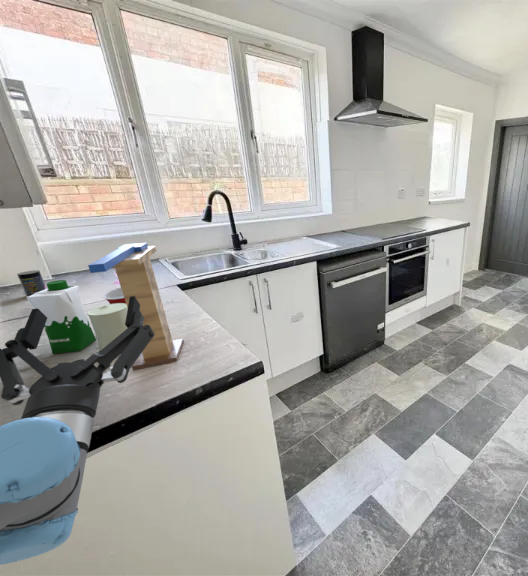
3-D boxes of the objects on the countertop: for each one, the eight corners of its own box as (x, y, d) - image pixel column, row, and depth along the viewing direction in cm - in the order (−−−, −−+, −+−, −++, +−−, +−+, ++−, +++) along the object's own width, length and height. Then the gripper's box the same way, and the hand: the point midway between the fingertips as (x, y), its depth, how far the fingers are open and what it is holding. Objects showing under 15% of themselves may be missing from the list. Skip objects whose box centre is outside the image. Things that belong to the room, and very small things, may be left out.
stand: (174, 369, 81) (142, 258, 71) (127, 378, 78) (88, 263, 68) (184, 340, 96) (159, 245, 86) (145, 347, 92) (115, 248, 82)
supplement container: (49, 294, 139) (40, 271, 135) (27, 298, 134) (17, 275, 130) (47, 291, 143) (38, 269, 139) (25, 295, 138) (16, 273, 134)
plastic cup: (105, 330, 103) (93, 297, 99) (125, 317, 113) (115, 286, 109) (141, 327, 105) (130, 294, 101) (157, 314, 115) (149, 284, 111)
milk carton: (101, 338, 98) (79, 278, 92) (81, 352, 90) (56, 288, 83) (69, 341, 97) (45, 280, 90) (45, 356, 88) (17, 291, 82)
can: (128, 333, 101) (117, 299, 97) (144, 339, 97) (133, 304, 93) (93, 346, 93) (80, 310, 89) (109, 353, 89) (96, 316, 85)
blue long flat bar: (114, 270, 62) (111, 262, 61) (82, 273, 60) (79, 265, 59) (148, 246, 84) (146, 241, 84) (125, 248, 82) (123, 242, 82)
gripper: (-46, 459, 42) (10, 332, 54) (170, 406, 51) (175, 308, 63) (-98, 442, 36) (-23, 305, 49) (154, 386, 46) (163, 283, 58)
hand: (89, 306), depth 56 cm, fingers open, 13 cm apart
